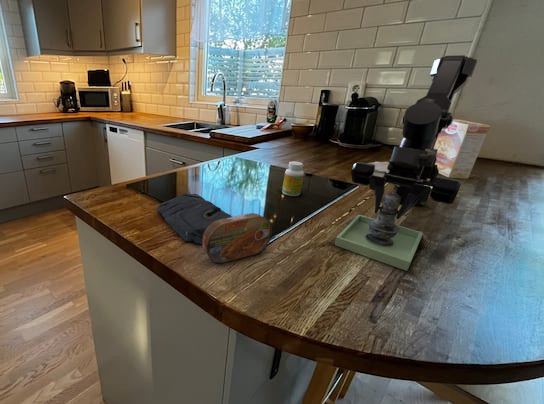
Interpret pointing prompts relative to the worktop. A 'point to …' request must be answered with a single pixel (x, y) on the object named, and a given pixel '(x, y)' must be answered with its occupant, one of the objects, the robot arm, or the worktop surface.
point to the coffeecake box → (459, 148)
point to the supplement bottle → (293, 179)
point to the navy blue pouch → (190, 215)
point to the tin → (236, 237)
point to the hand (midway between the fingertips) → (386, 215)
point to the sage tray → (392, 255)
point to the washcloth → (381, 166)
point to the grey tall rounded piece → (385, 221)
